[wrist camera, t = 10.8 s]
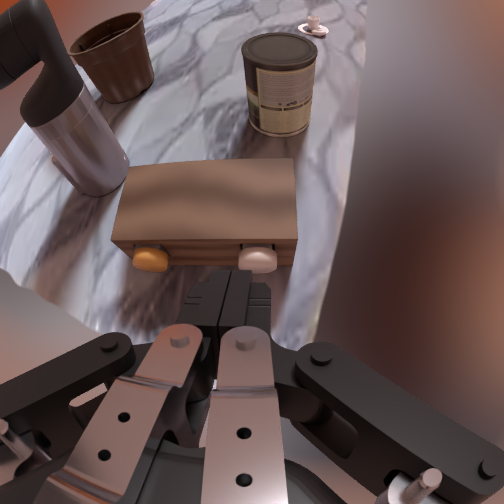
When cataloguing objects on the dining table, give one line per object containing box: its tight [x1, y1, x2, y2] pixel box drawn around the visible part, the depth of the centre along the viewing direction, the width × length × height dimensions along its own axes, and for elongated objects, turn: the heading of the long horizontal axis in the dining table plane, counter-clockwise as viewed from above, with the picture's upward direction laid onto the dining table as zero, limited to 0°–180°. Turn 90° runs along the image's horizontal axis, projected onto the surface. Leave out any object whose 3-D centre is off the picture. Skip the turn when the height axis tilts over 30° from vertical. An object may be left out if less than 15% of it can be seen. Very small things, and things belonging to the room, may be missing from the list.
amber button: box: [133, 244, 169, 272], centre depth 33 cm, size 6×4×4 cm, turn 179°
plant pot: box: [67, 12, 154, 103], centre depth 46 cm, size 16×16×16 cm
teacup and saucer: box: [298, 16, 329, 36], centre depth 57 cm, size 9×8×4 cm
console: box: [111, 158, 298, 266], centre depth 35 cm, size 10×20×8 cm, turn 89°
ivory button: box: [238, 244, 277, 274], centre depth 32 cm, size 6×4×4 cm, turn 179°
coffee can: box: [241, 33, 318, 137], centre depth 39 cm, size 10×10×14 cm
